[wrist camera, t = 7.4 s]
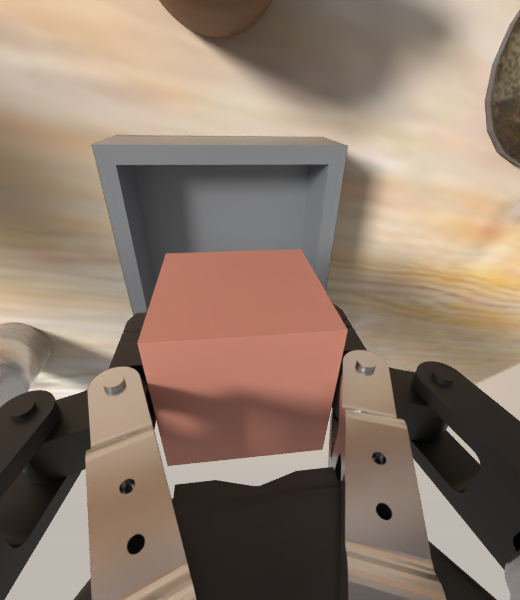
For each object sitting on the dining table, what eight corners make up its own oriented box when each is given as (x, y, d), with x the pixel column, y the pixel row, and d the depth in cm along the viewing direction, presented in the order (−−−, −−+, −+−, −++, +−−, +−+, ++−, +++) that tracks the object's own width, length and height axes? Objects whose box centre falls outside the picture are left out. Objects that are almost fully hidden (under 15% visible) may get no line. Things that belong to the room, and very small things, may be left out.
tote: (116, 135, 21) (91, 144, 16) (322, 136, 22) (347, 145, 18) (158, 344, 30) (150, 384, 26) (300, 335, 32) (313, 371, 28)
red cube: (166, 253, 11) (137, 343, 7) (301, 248, 12) (347, 330, 8) (182, 356, 14) (167, 465, 10) (291, 348, 15) (322, 449, 10)
